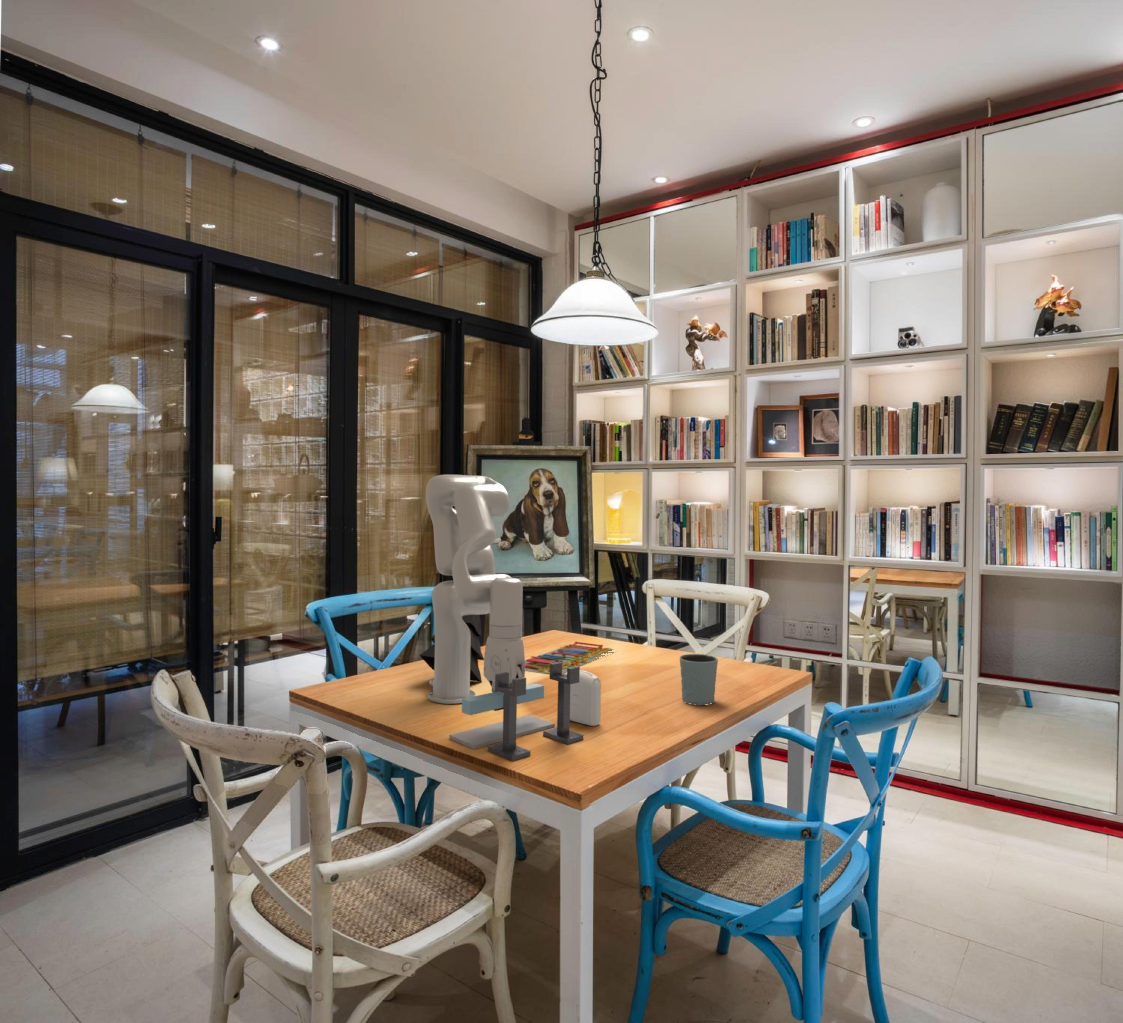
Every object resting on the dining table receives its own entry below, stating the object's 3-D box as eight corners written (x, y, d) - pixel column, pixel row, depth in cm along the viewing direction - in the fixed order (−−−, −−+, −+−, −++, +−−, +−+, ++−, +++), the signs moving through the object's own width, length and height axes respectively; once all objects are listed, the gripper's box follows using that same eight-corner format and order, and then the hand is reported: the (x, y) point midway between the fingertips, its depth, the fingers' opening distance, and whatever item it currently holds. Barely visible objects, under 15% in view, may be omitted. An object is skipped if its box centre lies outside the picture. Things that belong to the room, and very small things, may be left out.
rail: (461, 712, 164) (462, 698, 164) (535, 695, 180) (535, 683, 179) (470, 715, 162) (470, 701, 162) (543, 698, 177) (544, 685, 177)
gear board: (557, 669, 227) (504, 661, 236) (557, 677, 227) (504, 669, 236) (618, 645, 266) (571, 639, 276) (618, 652, 266) (571, 646, 276)
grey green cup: (721, 700, 203) (722, 656, 203) (709, 709, 194) (710, 663, 194) (686, 694, 208) (687, 652, 208) (673, 702, 199) (674, 658, 199)
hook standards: (488, 751, 158) (489, 674, 158) (558, 731, 173) (560, 660, 173) (512, 761, 153) (513, 681, 152) (583, 739, 167) (585, 666, 167)
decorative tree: (478, 695, 215) (511, 590, 233) (458, 674, 204) (494, 565, 222) (434, 689, 220) (470, 586, 239) (412, 668, 209) (451, 563, 227)
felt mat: (449, 738, 166) (449, 735, 166) (529, 718, 183) (529, 714, 183) (473, 749, 160) (473, 745, 159) (554, 726, 176) (554, 723, 176)
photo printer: (559, 718, 183) (560, 668, 183) (571, 715, 186) (572, 666, 186) (591, 728, 176) (592, 676, 176) (603, 724, 179) (604, 673, 179)
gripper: (471, 628, 174) (469, 707, 174) (516, 638, 162) (515, 722, 162) (495, 625, 179) (494, 701, 179) (541, 635, 167) (540, 716, 168)
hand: (504, 710), depth 171 cm, fingers closed on rail, 3 cm apart
